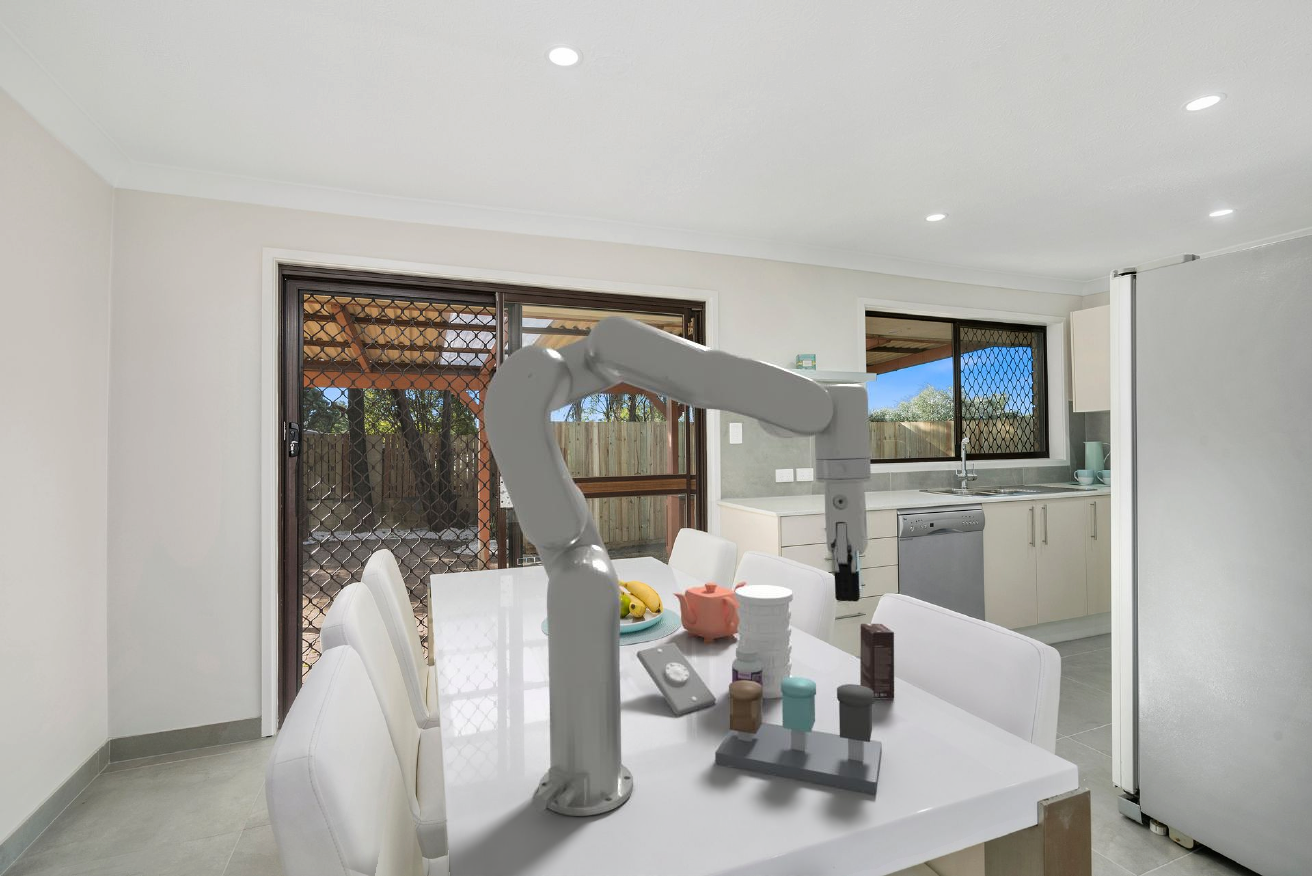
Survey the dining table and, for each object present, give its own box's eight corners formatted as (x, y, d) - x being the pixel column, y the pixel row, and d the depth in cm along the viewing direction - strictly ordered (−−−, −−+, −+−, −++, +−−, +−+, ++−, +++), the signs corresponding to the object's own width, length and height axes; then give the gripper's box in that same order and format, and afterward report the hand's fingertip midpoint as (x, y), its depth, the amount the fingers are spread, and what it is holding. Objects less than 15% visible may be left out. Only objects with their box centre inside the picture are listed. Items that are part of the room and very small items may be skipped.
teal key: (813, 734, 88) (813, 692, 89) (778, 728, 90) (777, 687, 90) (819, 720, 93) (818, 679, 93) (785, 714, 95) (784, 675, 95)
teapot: (673, 644, 145) (672, 589, 145) (688, 624, 160) (688, 574, 161) (737, 649, 141) (736, 593, 141) (747, 628, 156) (746, 577, 157)
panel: (876, 794, 82) (875, 745, 82) (715, 763, 90) (714, 719, 91) (881, 752, 93) (880, 709, 93) (737, 728, 102) (737, 688, 102)
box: (896, 699, 112) (895, 631, 112) (871, 700, 112) (870, 632, 112) (883, 686, 118) (881, 622, 118) (859, 687, 118) (858, 623, 118)
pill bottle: (738, 711, 108) (737, 655, 108) (728, 699, 113) (727, 645, 113) (767, 708, 109) (766, 652, 109) (756, 696, 114) (755, 643, 114)
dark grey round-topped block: (873, 744, 85) (872, 700, 85) (835, 738, 87) (834, 695, 87) (875, 728, 90) (875, 687, 90) (839, 723, 92) (839, 682, 92)
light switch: (680, 707, 106) (638, 647, 116) (670, 732, 108) (630, 670, 119) (718, 695, 111) (675, 638, 121) (708, 719, 113) (667, 661, 124)
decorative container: (754, 702, 111) (752, 601, 112) (723, 680, 122) (722, 587, 122) (808, 692, 116) (807, 594, 116) (774, 671, 127) (773, 582, 127)
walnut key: (758, 736, 92) (757, 695, 92) (725, 730, 94) (724, 690, 94) (766, 722, 96) (765, 682, 96) (734, 716, 98) (734, 678, 98)
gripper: (867, 474, 81) (872, 615, 81) (873, 468, 95) (878, 589, 95) (808, 474, 84) (813, 611, 84) (822, 469, 98) (827, 586, 98)
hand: (847, 599), depth 89 cm, fingers closed
